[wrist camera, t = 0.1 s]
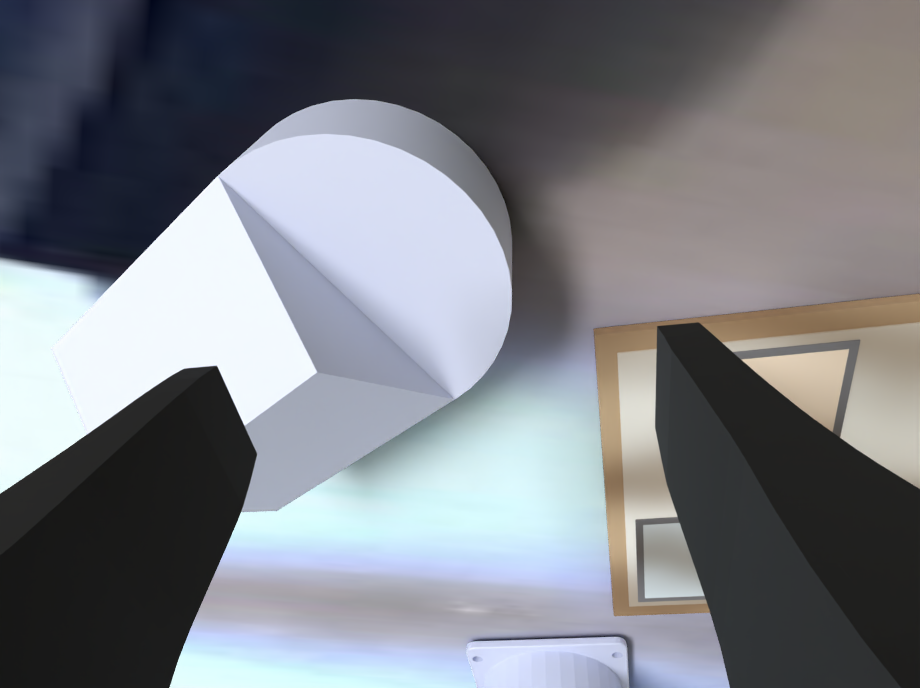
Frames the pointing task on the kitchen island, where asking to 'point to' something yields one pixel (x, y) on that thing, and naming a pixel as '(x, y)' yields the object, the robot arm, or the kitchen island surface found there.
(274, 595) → the kitchen island surface
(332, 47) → the kitchen island surface
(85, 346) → the wedge on round base
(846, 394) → the cream board
